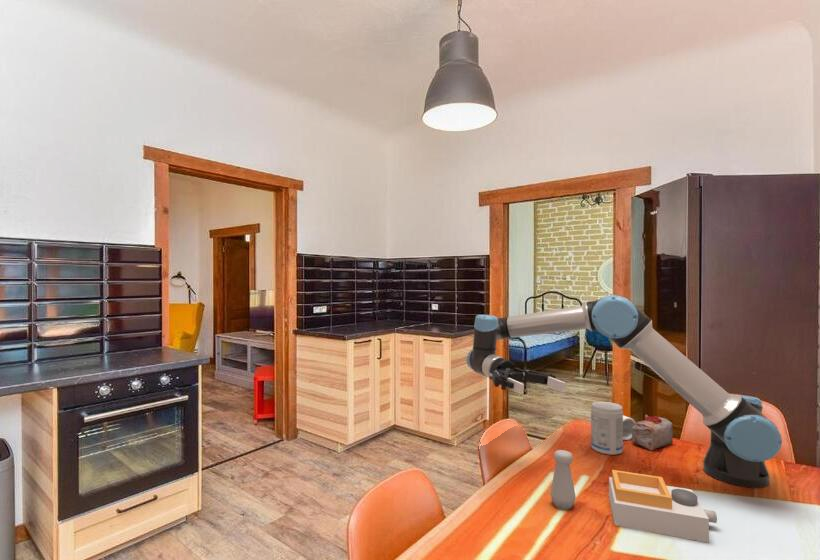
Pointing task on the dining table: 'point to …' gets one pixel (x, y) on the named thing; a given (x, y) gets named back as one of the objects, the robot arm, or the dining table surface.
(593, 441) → the supplement tub
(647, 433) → the food item
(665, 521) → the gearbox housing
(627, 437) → the mug
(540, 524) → the dining table surface
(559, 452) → the salt shaker
